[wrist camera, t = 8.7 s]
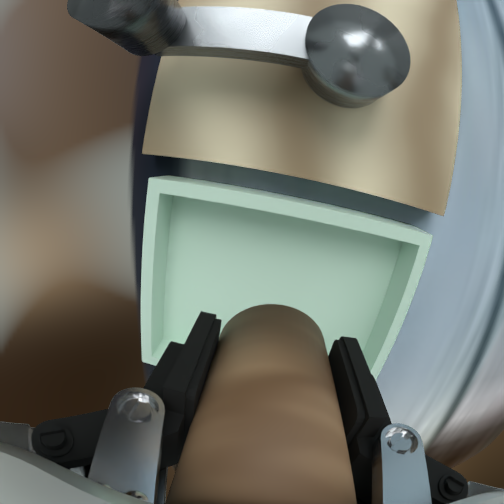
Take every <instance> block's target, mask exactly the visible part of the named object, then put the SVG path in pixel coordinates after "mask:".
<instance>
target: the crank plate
mask: <svg viewBox="0 0 504 504" xmlns="http://www.w3.org/2000/svg"><path fill="white" fill-rule="evenodd" d="M178 3H179V4H180V6H181V7H192V6H221V7H242V8H254V9H264V10H273V11H280V12H287V13H293V14H299V15H305V16H310V17H314V16H315V15H316V14H317V13H318V12H319V11H321V10H322V9H324V8H326V7H329V6H332V5H336V4H355V5H360V6H364V7H367V8H369V9H372V10H374V11H376V12H378V13H380V14H381V15H383V16H384V17H386V18H387V19H388V20H389V21H391V22H392V23H393V24H394V25H395V26H396V27H397V29H398V30H399V31H400V33H401V34H402V35H403V37H404V39H405V41H406V43H407V45H408V48H409V52H410V60H411V64H410V70H409V73H408V75H407V77H406V79H405V80H404V82H403V83H402V84H401V85H400V86H399V87H397V88H396V89H394V90H393V91H391V92H389V93H388V94H386V95H384V96H383V97H381V98H380V99H378V100H376V101H375V102H373V103H371V104H369V105H367V106H364V107H360V108H344V107H339V106H336V105H333V104H331V103H329V102H327V101H325V100H323V99H322V98H321V97H319V96H318V95H317V94H316V93H315V92H313V90H312V89H311V88H310V87H309V85H308V84H307V83H306V81H305V79H304V77H303V74H302V70H301V68H296V67H291V66H286V65H280V64H273V63H267V62H259V61H251V60H242V59H232V58H220V57H201V56H161V60H160V64H159V68H158V72H157V77H156V81H155V85H154V90H153V94H152V99H151V104H150V109H149V114H148V120H147V125H146V131H145V137H144V143H143V150H142V154H150V155H160V156H169V157H178V158H186V159H194V160H201V161H208V162H215V163H222V164H229V165H235V166H241V167H247V168H253V169H258V170H264V171H269V172H275V173H280V174H285V175H290V176H295V177H300V178H304V179H309V180H313V181H318V182H322V183H327V184H331V185H335V186H340V187H344V188H348V189H352V190H356V191H360V192H363V193H367V194H371V195H375V196H378V197H382V198H386V199H389V200H393V201H396V202H400V203H403V204H406V205H410V206H413V207H416V208H420V209H423V210H426V211H429V212H432V213H435V214H438V215H441V216H444V213H445V209H446V204H447V200H448V195H449V190H450V185H451V180H452V175H453V169H454V163H455V156H456V149H457V141H458V132H459V122H460V109H461V88H462V58H461V38H460V26H459V16H458V8H457V1H456V0H179V1H178Z"/></svg>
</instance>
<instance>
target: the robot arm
mask: <svg viewBox="0 0 504 504" xmlns="http://www.w3.org/2000/svg"><path fill="white" fill-rule="evenodd" d="M216 316H217V315H216V314H212V313H207V312H203V311H201V312H200V314H199V316H198V318H197V320H196V322H195V324H194V326H193V328H192V329H191V331H190V333H189V335H188V337H187V339H186V341H185V343H184V344H181V343H177V342H173V341H171V342H170V343H169V344H168V346H167V348H166V350H165V351H164V353H163V355H162V357H161V358H160V360H159V362H158V364H157V365H156V367H155V369H154V371H153V372H152V374H151V376H150V378H149V379H148V381H147V383H146V385H145V386H144V388H129V389H125V390H122V391H120V392H118V393H117V394H116V395H115V396H114V397H113V399H112V401H111V404H110V406H109V409H105V410H101V411H96V412H92V413H87V414H82V415H77V416H71V417H67V418H60V419H54V420H48V421H45V422H43V423H41V424H39V425H38V426H36V428H30V426H29V425H28V424H18V423H6V422H0V504H165V498H166V483H167V471H168V467H169V466H172V465H175V464H177V463H178V462H179V459H180V456H181V453H182V450H183V447H184V444H185V441H186V438H187V435H188V432H189V428H190V426H191V423H192V421H193V418H194V415H195V412H196V409H197V406H198V403H199V400H200V397H201V394H202V390H203V387H204V384H205V381H206V378H207V375H208V372H209V369H210V366H211V363H212V360H213V357H214V353H215V350H216V347H217V344H218V341H219V335H220V329H221V321H222V320H221V319H216ZM328 358H329V362H330V367H331V371H332V375H333V380H334V384H335V389H336V393H337V398H338V403H339V407H340V412H341V417H342V422H343V427H344V432H345V437H346V442H347V448H348V453H349V458H350V464H351V470H352V476H353V481H354V488H355V494H356V500H357V504H504V489H500V488H495V487H491V486H486V485H482V484H478V483H475V482H471V481H470V482H469V483H467V481H466V479H465V478H464V477H463V476H462V475H461V474H459V473H458V472H456V471H454V470H452V469H451V468H449V467H447V466H445V465H443V464H441V463H440V462H438V461H436V460H434V459H432V458H431V457H429V456H427V455H425V454H424V448H423V443H422V440H421V437H420V435H419V434H418V433H417V431H415V430H414V429H413V428H411V427H409V426H407V425H404V424H400V423H398V424H392V423H391V421H390V418H389V415H388V412H387V410H386V407H385V404H384V402H383V399H382V396H381V394H380V391H379V388H378V386H377V383H376V381H375V378H374V376H373V375H372V374H371V372H370V370H369V367H368V365H367V362H366V360H365V357H364V355H363V352H362V350H361V347H360V345H359V343H358V340H357V339H356V338H352V337H344V336H341V337H340V338H339V340H337V339H336V340H335V341H334V342H333V345H332V348H331V350H330V353H329V355H328Z"/></svg>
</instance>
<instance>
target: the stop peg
mask: <svg viewBox="0 0 504 504" xmlns="http://www.w3.org/2000/svg"><path fill="white" fill-rule="evenodd" d="M165 504H357V500H356V494H355V488H354V481H353V476H352V470H351V464H350V458H349V453H348V448H347V442H346V437H345V432H344V427H343V422H342V417H341V412H340V407H339V403H338V398H337V393H336V389H335V384H334V380H333V375H332V371H331V367H330V362H329V358H328V354H327V350H326V346H325V341H324V337H323V334H322V332H321V330H320V328H319V326H318V325H317V324H316V323H315V321H314V320H313V319H312V318H310V317H309V316H308V315H307V314H305V313H304V312H302V311H300V310H298V309H295V308H293V307H290V306H285V305H279V304H264V305H257V306H253V307H250V308H247V309H245V310H243V311H241V312H239V313H238V314H236V315H235V316H233V317H232V318H231V319H230V320H229V321H228V322H227V323H226V325H225V326H224V328H223V329H222V332H221V334H220V337H219V341H218V344H217V347H216V350H215V353H214V357H213V360H212V363H211V366H210V369H209V372H208V375H207V378H206V381H205V384H204V387H203V390H202V394H201V397H200V400H199V403H198V406H197V409H196V412H195V415H194V418H193V421H192V423H191V426H190V428H189V432H188V435H187V438H186V441H185V444H184V447H183V450H182V453H181V456H180V459H179V462H178V466H177V469H176V472H175V475H174V478H173V481H172V484H171V487H170V490H169V494H168V497H167V500H166V503H165Z"/></svg>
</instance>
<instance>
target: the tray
mask: <svg viewBox="0 0 504 504" xmlns="http://www.w3.org/2000/svg"><path fill="white" fill-rule="evenodd" d="M432 238H433V235H431V234H429V233H427V232H425V231H423V230H421V229H419V228H417V227H415V226H413V225H411V224H407V223H403V222H400V221H396V220H392V219H389V218H385V217H381V216H377V215H373V214H369V213H365V212H361V211H357V210H353V209H349V208H344V207H340V206H336V205H331V204H327V203H322V202H318V201H313V200H309V199H304V198H299V197H294V196H289V195H284V194H279V193H274V192H269V191H264V190H258V189H253V188H247V187H242V186H236V185H230V184H224V183H218V182H212V181H205V180H199V179H192V178H185V177H178V176H170V175H167V176H159V177H151V178H149V181H148V190H147V199H146V209H145V220H144V233H143V249H142V271H141V347H142V362H145V363H148V364H152V365H155V366H156V365H157V364H158V362H159V360H160V358H161V357H162V355H163V353H164V351H165V350H166V348H167V346H168V344H169V343H170V342H171V341H173V342H177V343H181V344H184V343H185V341H186V339H187V337H188V335H189V333H190V331H191V329H192V328H193V326H194V324H195V322H196V320H197V318H198V316H199V314H200V312H201V311H203V312H207V313H212V314H216V315H217V316H216V319H221V320H222V321H221V329H220V334H221V332H222V329H223V328H224V326H225V325H226V323H227V322H228V321H229V320H230V319H231V318H232V317H233V316H235V315H236V314H238V313H239V312H241V311H243V310H245V309H247V308H250V307H253V306H257V305H264V304H279V305H285V306H290V307H293V308H295V309H298V310H300V311H302V312H304V313H305V314H307V315H308V316H309V317H310V318H312V319H313V320H314V321H315V323H316V324H317V325H318V326H319V328H320V330H321V332H322V334H323V337H324V341H325V346H326V350H327V354H328V355H329V353H330V350H331V348H332V345H333V342H334V341H335V340H336V339H337V340H339V338H340V337H341V336H344V337H352V338H356V339H357V340H358V343H359V345H360V347H361V350H362V352H363V355H364V357H365V360H366V362H367V365H368V367H369V370H370V372H371V374H372V375H373V376H374V378H375V381H376V379H377V377H378V375H379V373H380V371H381V369H382V367H383V365H384V363H385V361H386V359H387V357H388V355H389V353H390V351H391V349H392V346H393V344H394V342H395V340H396V338H397V335H398V333H399V331H400V328H401V326H402V324H403V321H404V319H405V317H406V314H407V312H408V309H409V307H410V304H411V301H412V299H413V296H414V293H415V291H416V288H417V285H418V282H419V280H420V277H421V274H422V271H423V268H424V265H425V261H426V258H427V255H428V252H429V248H430V245H431V242H432ZM219 337H220V335H219Z"/></svg>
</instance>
